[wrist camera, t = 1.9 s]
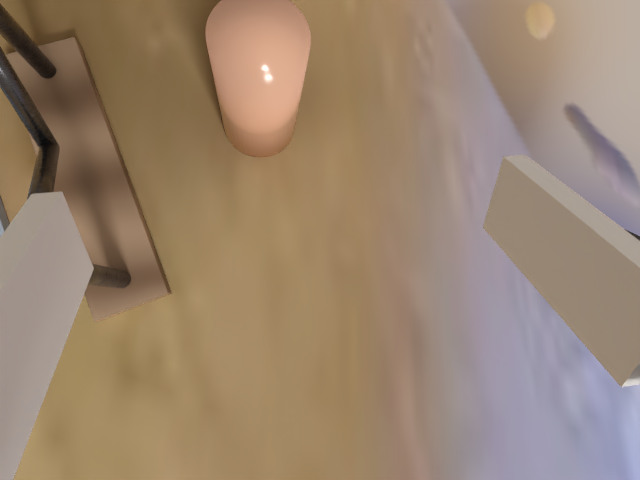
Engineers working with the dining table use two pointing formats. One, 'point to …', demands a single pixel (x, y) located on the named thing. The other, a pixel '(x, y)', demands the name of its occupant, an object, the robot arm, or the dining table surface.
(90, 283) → the bent wire
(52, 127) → the wire base
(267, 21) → the peach rounded cylinder
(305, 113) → the dining table surface
